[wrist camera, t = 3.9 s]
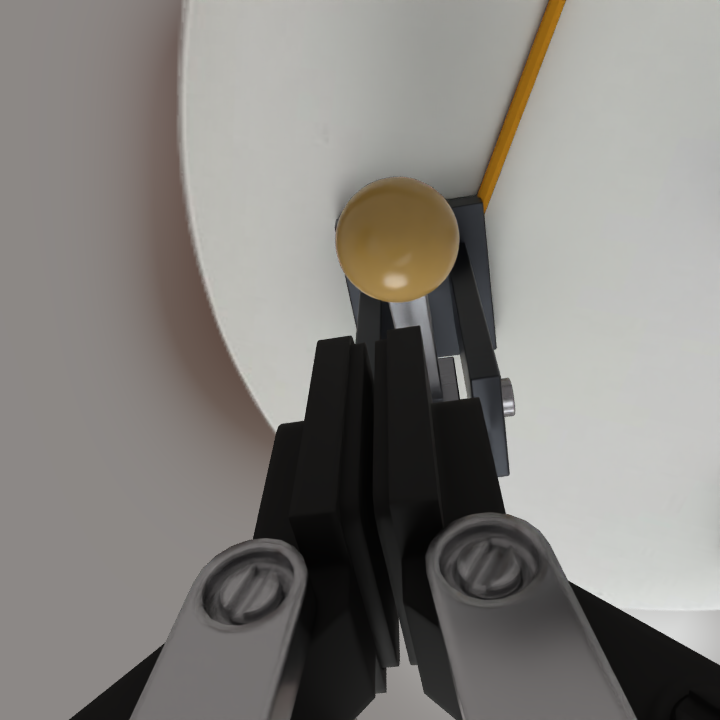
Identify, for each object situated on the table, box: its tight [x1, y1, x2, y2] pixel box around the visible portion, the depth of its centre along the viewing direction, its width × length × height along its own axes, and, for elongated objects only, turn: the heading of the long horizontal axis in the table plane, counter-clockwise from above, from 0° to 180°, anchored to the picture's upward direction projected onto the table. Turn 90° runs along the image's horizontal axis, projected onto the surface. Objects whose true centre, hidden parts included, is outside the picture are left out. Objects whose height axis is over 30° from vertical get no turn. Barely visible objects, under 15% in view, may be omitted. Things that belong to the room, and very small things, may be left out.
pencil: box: [477, 0, 566, 214], centre depth 30 cm, size 19×1×1 cm, turn 165°
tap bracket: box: [335, 195, 515, 477], centre depth 28 cm, size 8×7×13 cm
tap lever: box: [335, 177, 460, 403], centre depth 21 cm, size 12×3×3 cm, turn 11°
